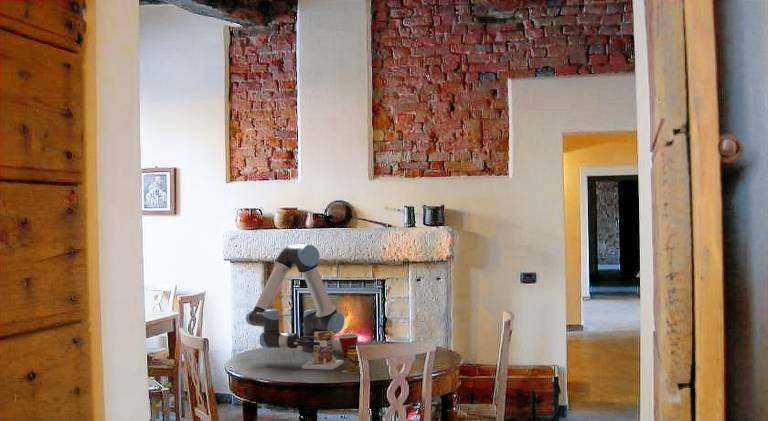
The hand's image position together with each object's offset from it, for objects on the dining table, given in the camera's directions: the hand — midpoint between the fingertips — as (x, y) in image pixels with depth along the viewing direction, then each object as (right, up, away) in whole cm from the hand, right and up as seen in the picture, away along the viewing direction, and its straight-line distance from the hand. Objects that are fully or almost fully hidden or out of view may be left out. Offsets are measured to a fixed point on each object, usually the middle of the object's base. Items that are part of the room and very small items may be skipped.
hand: (330, 341), depth 321 cm
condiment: (+12, -12, -14) cm, 22 cm away
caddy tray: (-4, -12, +1) cm, 13 cm away
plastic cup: (+8, -13, +21) cm, 25 cm away
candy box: (-4, -11, +1) cm, 11 cm away
